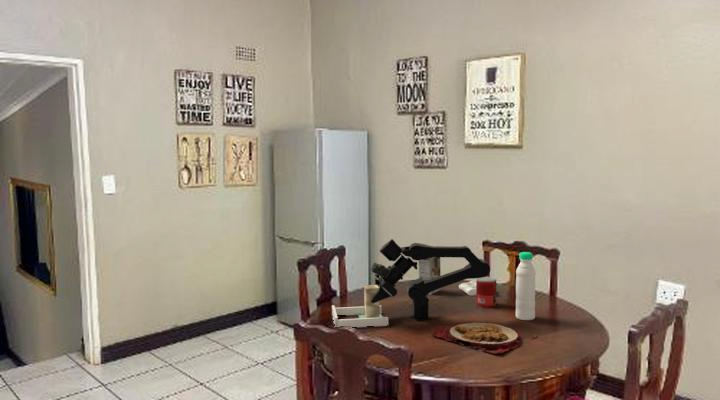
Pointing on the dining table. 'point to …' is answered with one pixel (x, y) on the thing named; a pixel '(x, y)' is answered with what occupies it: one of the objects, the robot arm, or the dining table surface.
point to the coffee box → (430, 269)
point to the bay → (361, 320)
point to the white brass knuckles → (469, 287)
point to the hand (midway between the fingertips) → (370, 299)
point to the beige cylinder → (371, 308)
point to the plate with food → (482, 336)
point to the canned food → (486, 291)
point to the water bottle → (525, 288)
